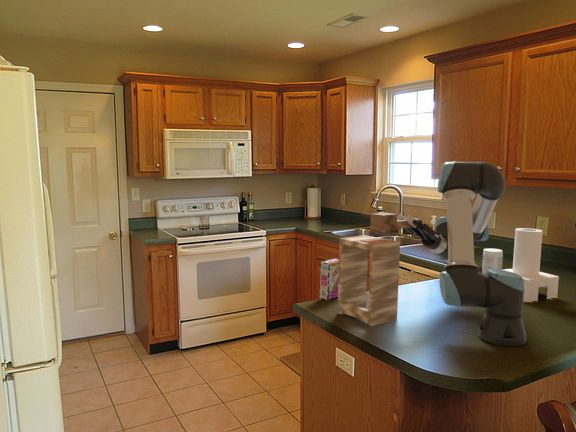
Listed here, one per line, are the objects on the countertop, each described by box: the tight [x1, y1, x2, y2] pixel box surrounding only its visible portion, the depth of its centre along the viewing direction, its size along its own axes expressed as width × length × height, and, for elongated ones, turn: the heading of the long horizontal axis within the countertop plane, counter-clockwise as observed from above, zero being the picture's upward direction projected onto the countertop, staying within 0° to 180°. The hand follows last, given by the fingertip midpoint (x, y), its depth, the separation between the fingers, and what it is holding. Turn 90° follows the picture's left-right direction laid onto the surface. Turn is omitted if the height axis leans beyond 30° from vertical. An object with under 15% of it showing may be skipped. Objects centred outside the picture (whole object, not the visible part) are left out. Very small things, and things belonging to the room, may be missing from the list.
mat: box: [360, 237, 396, 244], centre depth 179 cm, size 8×10×1 cm
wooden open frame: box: [337, 234, 401, 327], centre depth 184 cm, size 18×14×30 cm
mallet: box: [369, 212, 422, 232], centre depth 186 cm, size 24×6×6 cm, turn 127°
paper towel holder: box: [504, 227, 560, 303], centre depth 216 cm, size 19×19×30 cm
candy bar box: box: [319, 258, 339, 302], centre depth 209 cm, size 11×5×16 cm, turn 141°
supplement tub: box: [481, 247, 504, 274], centre depth 248 cm, size 10×10×15 cm
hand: (403, 216), depth 187 cm, fingers closed on mallet, 3 cm apart
